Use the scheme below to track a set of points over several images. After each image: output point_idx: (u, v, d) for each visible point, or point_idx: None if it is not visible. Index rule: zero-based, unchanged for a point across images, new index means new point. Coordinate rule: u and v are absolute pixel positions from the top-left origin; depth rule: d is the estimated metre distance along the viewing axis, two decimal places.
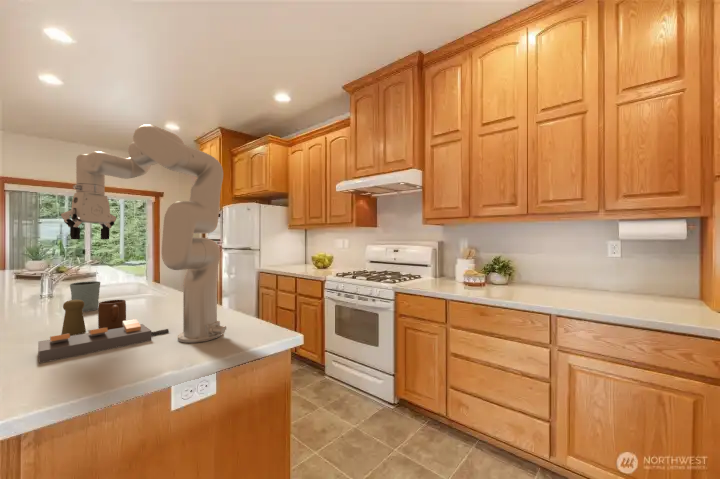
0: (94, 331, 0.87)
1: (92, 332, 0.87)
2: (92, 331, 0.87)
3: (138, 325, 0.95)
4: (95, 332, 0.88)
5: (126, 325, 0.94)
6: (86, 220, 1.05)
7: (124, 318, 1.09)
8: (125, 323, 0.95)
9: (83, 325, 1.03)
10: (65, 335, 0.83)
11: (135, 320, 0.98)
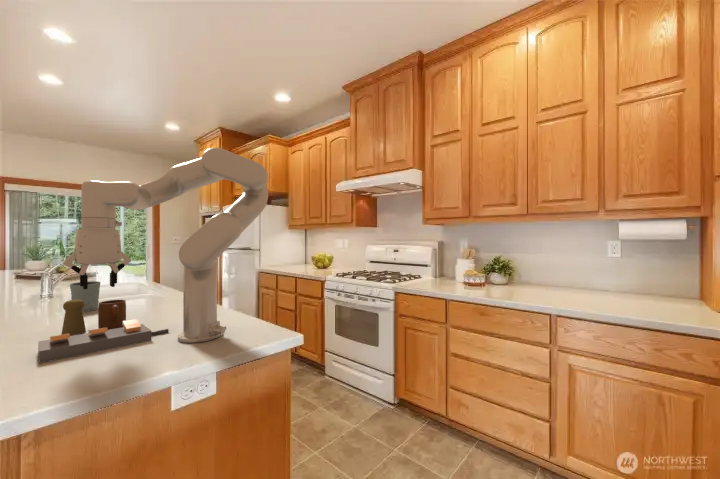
0: (94, 331, 0.87)
1: (92, 332, 0.87)
2: (92, 331, 0.87)
3: (138, 325, 0.95)
4: (95, 332, 0.88)
5: (126, 325, 0.94)
6: None
7: (124, 318, 1.09)
8: (125, 323, 0.95)
9: (83, 325, 1.03)
10: (65, 335, 0.83)
11: (135, 320, 0.98)
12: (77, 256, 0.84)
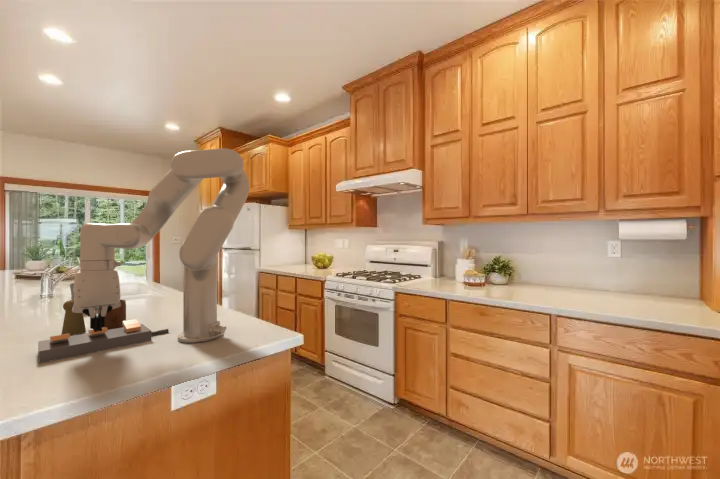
0: None
1: (92, 332, 0.87)
2: (92, 331, 0.87)
3: (138, 325, 0.95)
4: (95, 332, 0.88)
5: (126, 325, 0.94)
6: None
7: (124, 318, 1.09)
8: (125, 323, 0.95)
9: (83, 325, 1.03)
10: (65, 335, 0.83)
11: (135, 320, 0.98)
12: (75, 300, 0.84)
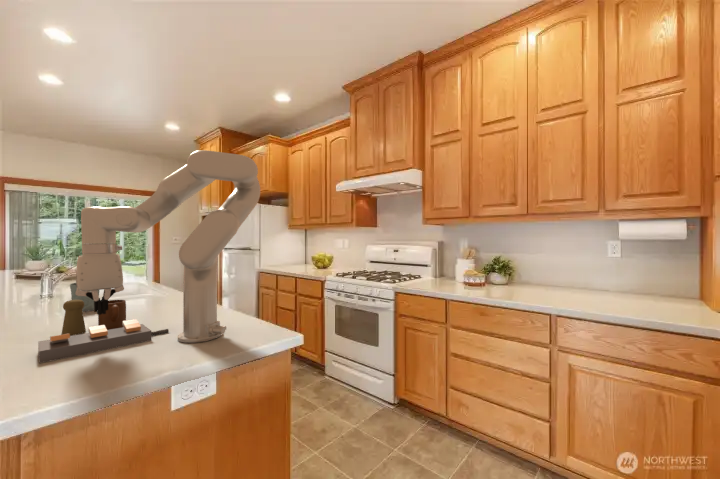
0: (94, 335, 0.87)
1: (92, 336, 0.87)
2: (92, 335, 0.87)
3: (138, 325, 0.95)
4: (95, 336, 0.87)
5: (126, 325, 0.94)
6: None
7: (124, 318, 1.09)
8: (125, 323, 0.95)
9: (83, 325, 1.03)
10: (65, 335, 0.83)
11: (135, 320, 0.98)
12: (79, 283, 0.84)
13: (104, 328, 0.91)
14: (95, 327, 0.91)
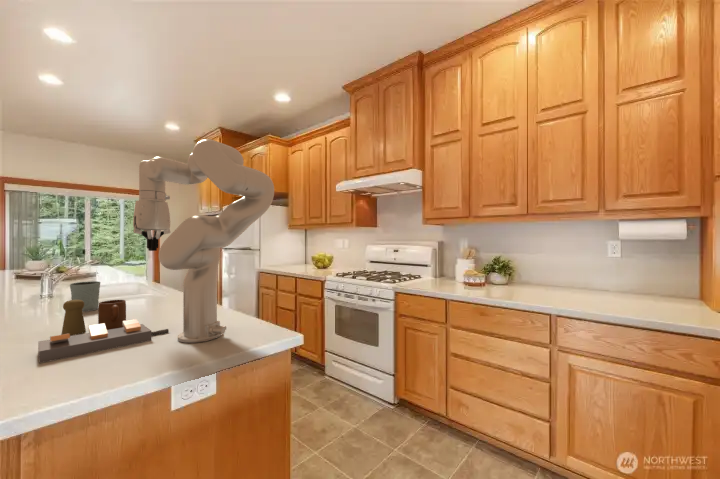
0: (94, 337, 0.87)
1: (92, 338, 0.87)
2: (92, 337, 0.87)
3: (138, 325, 0.95)
4: (95, 338, 0.88)
5: (126, 325, 0.94)
6: None
7: (124, 318, 1.09)
8: (125, 323, 0.95)
9: (83, 325, 1.03)
10: (65, 335, 0.83)
11: (135, 320, 0.98)
12: (137, 222, 1.02)
13: (104, 329, 0.91)
14: (95, 326, 0.91)
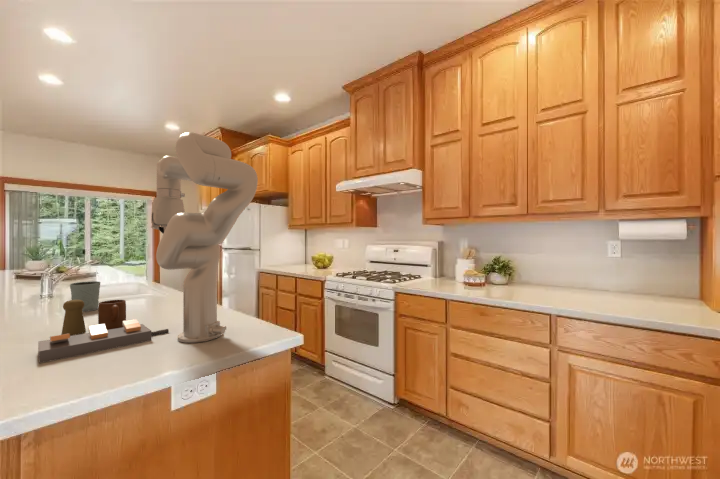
0: (94, 336, 0.87)
1: (92, 337, 0.87)
2: (92, 336, 0.87)
3: (138, 325, 0.95)
4: (95, 337, 0.87)
5: (126, 325, 0.94)
6: None
7: (124, 318, 1.09)
8: (125, 323, 0.95)
9: (83, 325, 1.03)
10: (65, 335, 0.83)
11: (135, 320, 0.98)
12: (155, 218, 1.09)
13: (104, 328, 0.91)
14: (95, 327, 0.91)
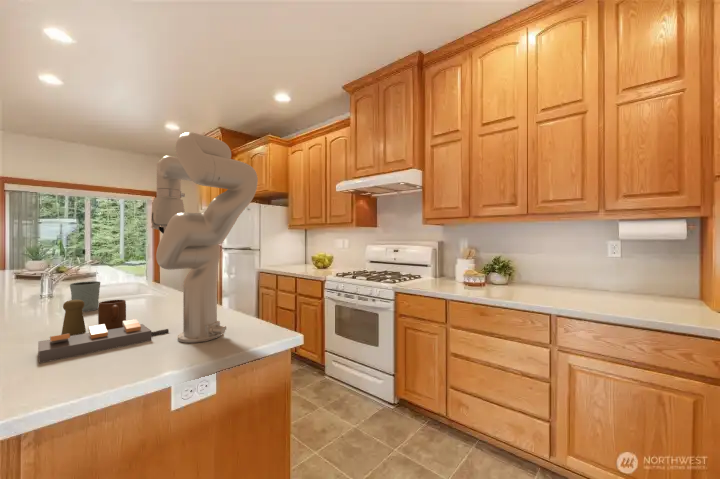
0: (94, 336, 0.87)
1: (92, 337, 0.87)
2: (92, 336, 0.87)
3: (138, 325, 0.95)
4: (95, 337, 0.87)
5: (126, 325, 0.94)
6: None
7: (124, 318, 1.09)
8: (125, 323, 0.95)
9: (83, 325, 1.03)
10: (65, 335, 0.83)
11: (135, 320, 0.98)
12: (155, 218, 1.09)
13: (104, 328, 0.91)
14: (95, 327, 0.91)
